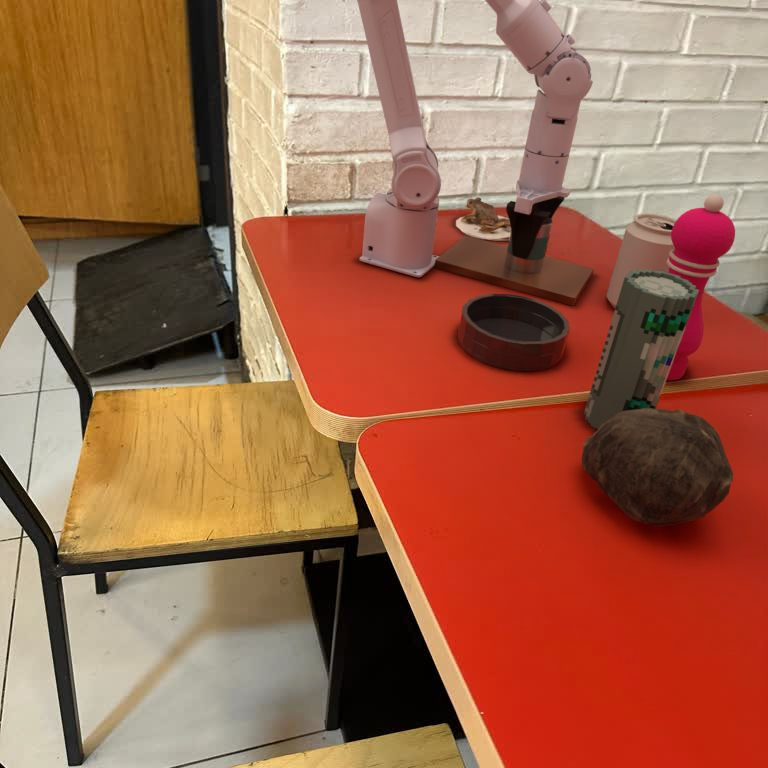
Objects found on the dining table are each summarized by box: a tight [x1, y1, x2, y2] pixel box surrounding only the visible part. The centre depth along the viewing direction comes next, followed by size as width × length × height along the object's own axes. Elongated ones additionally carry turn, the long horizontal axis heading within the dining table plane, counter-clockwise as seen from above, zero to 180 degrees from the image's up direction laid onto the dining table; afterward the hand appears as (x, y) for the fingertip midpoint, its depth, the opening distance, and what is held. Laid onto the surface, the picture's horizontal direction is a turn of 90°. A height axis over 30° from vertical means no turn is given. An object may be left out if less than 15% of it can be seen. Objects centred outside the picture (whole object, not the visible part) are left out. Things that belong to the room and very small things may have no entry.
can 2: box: [583, 269, 699, 430], centre depth 65 cm, size 6×6×15 cm
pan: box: [457, 293, 571, 372], centre depth 80 cm, size 12×12×4 cm
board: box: [433, 235, 595, 307], centre depth 99 cm, size 20×12×1 cm, turn 64°
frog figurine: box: [455, 196, 511, 242], centre depth 113 cm, size 12×12×4 cm
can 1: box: [606, 213, 677, 309], centre depth 89 cm, size 8×8×12 cm
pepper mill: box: [666, 194, 736, 381], centre depth 74 cm, size 7×7×20 cm
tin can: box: [505, 217, 554, 273], centre depth 96 cm, size 5×5×7 cm
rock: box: [581, 408, 734, 527], centre depth 57 cm, size 10×11×10 cm
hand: (526, 250), depth 97 cm, fingers closed on tin can, 5 cm apart
